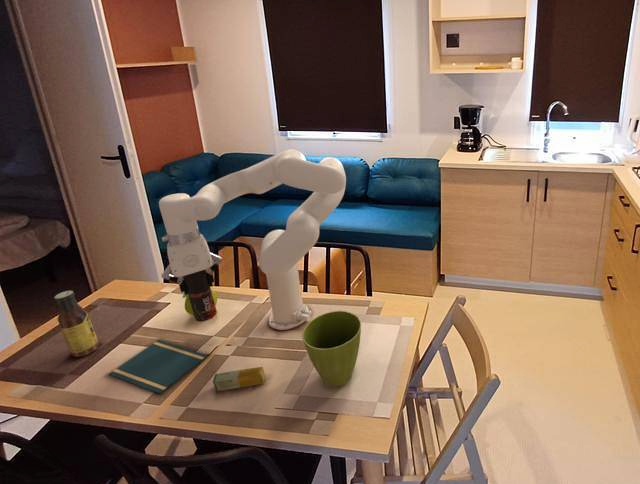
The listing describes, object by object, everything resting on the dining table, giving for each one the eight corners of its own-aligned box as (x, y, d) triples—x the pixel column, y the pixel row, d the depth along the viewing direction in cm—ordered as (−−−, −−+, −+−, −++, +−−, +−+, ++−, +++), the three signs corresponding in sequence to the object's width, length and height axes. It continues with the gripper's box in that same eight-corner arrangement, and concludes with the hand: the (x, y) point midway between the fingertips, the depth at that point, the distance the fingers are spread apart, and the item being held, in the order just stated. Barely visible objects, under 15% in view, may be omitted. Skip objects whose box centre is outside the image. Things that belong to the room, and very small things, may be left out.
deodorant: (206, 322, 118) (195, 280, 113) (190, 320, 119) (178, 278, 114) (221, 310, 123) (210, 269, 118) (205, 308, 124) (194, 267, 120)
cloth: (207, 356, 114) (207, 354, 114) (160, 394, 102) (159, 392, 101) (159, 340, 120) (158, 339, 120) (109, 374, 108) (108, 373, 108)
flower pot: (302, 371, 109) (295, 324, 104) (352, 348, 117) (348, 303, 112) (319, 409, 97) (312, 358, 92) (374, 381, 105) (370, 332, 100)
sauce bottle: (104, 346, 118) (84, 291, 112) (78, 361, 113) (56, 303, 106) (92, 340, 121) (72, 285, 114) (67, 354, 115) (44, 297, 109)
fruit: (182, 317, 131) (175, 292, 128) (210, 302, 138) (205, 278, 135) (196, 327, 126) (190, 301, 123) (225, 311, 134) (219, 286, 131)
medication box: (215, 392, 102) (211, 382, 101) (219, 383, 105) (215, 373, 103) (264, 384, 104) (260, 373, 103) (266, 375, 107) (263, 365, 105)
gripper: (147, 250, 104) (165, 306, 110) (220, 231, 114) (232, 283, 120) (147, 240, 110) (163, 293, 116) (216, 223, 120) (228, 273, 126)
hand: (198, 288), depth 118 cm, fingers closed on deodorant, 6 cm apart
